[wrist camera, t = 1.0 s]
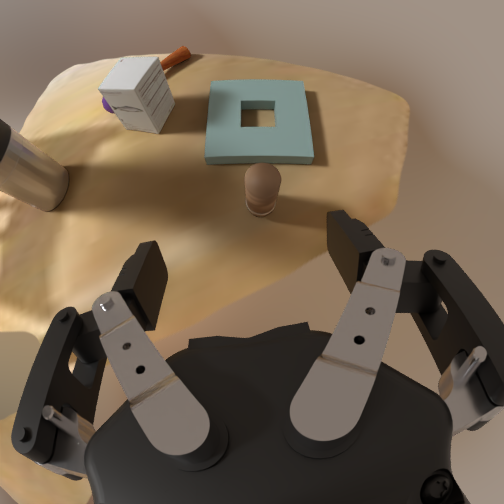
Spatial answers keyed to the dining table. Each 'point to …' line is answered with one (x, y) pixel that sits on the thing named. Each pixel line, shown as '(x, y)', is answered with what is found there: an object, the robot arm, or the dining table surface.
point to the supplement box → (138, 93)
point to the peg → (262, 188)
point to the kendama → (163, 66)
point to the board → (258, 138)
